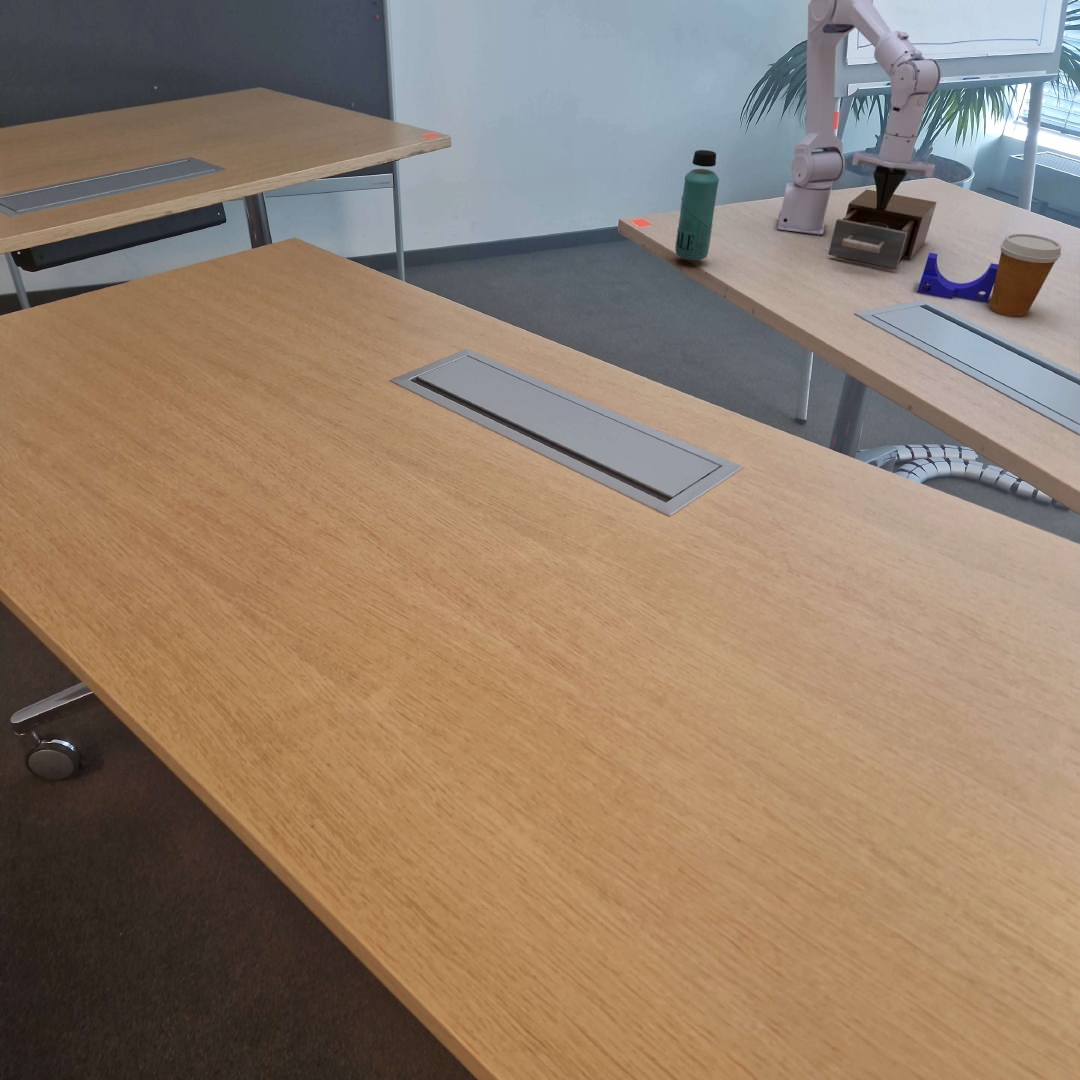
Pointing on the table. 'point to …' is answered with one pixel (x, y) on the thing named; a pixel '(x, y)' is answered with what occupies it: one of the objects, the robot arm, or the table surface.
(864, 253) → the drawer
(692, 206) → the beverage bottle
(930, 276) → the blue cradle bracket
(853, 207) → the cabinet
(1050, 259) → the disposable coffee cup
